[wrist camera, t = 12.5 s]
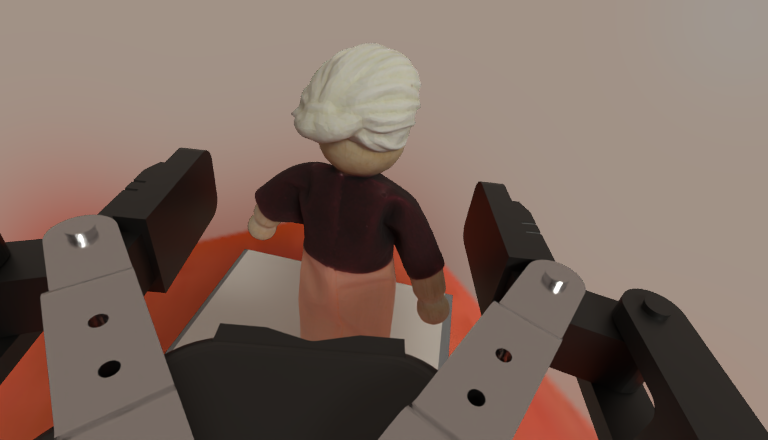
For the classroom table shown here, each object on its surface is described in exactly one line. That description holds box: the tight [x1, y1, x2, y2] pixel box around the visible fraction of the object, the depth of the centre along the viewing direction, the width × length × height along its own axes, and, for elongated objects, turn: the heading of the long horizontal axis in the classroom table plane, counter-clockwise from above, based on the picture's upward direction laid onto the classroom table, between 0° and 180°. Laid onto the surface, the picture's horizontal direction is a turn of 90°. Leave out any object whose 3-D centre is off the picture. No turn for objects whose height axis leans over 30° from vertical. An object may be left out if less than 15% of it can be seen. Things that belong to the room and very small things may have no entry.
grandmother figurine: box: [248, 43, 450, 341], centre depth 14 cm, size 8×4×13 cm, turn 74°
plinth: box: [165, 249, 453, 371], centre depth 19 cm, size 12×12×5 cm
